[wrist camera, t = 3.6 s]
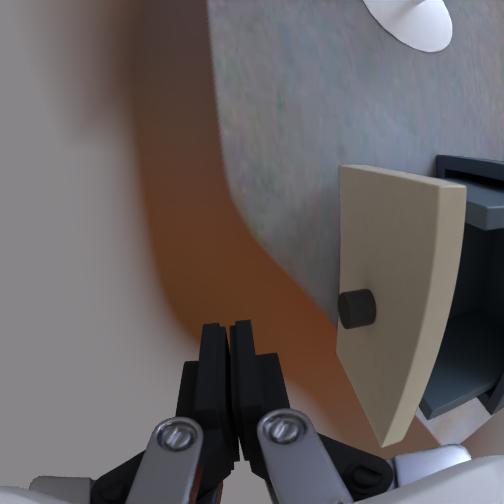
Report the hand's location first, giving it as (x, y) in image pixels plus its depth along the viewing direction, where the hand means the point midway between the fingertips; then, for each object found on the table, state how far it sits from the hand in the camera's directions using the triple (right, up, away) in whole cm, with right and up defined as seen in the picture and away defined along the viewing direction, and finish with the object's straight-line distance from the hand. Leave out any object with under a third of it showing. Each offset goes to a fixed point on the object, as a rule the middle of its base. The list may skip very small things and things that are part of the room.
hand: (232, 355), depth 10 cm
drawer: (+11, +3, +6) cm, 13 cm away
